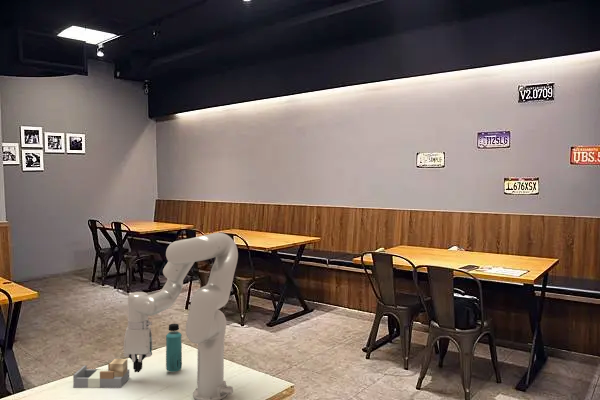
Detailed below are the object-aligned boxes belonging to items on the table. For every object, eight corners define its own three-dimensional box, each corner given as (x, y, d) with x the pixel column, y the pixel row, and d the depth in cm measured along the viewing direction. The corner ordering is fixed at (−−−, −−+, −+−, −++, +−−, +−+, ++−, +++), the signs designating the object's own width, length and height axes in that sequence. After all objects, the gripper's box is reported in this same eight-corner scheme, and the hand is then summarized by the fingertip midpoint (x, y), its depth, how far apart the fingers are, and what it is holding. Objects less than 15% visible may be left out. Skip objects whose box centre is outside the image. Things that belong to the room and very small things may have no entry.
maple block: (127, 371, 183) (127, 358, 183) (122, 376, 178) (122, 363, 178) (114, 371, 183) (114, 358, 183) (109, 376, 178) (109, 363, 178)
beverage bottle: (177, 376, 188) (177, 327, 187) (162, 374, 189) (162, 326, 189) (184, 369, 194) (184, 322, 194) (170, 368, 196) (170, 321, 195)
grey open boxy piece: (129, 378, 186) (129, 363, 185) (120, 387, 177) (120, 372, 176) (84, 377, 185) (84, 363, 185) (73, 387, 176) (73, 372, 176)
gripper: (160, 321, 184) (159, 367, 185) (122, 321, 184) (122, 367, 185) (154, 327, 177) (154, 375, 177) (115, 327, 177) (114, 374, 177)
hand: (137, 370), depth 181 cm, fingers closed
